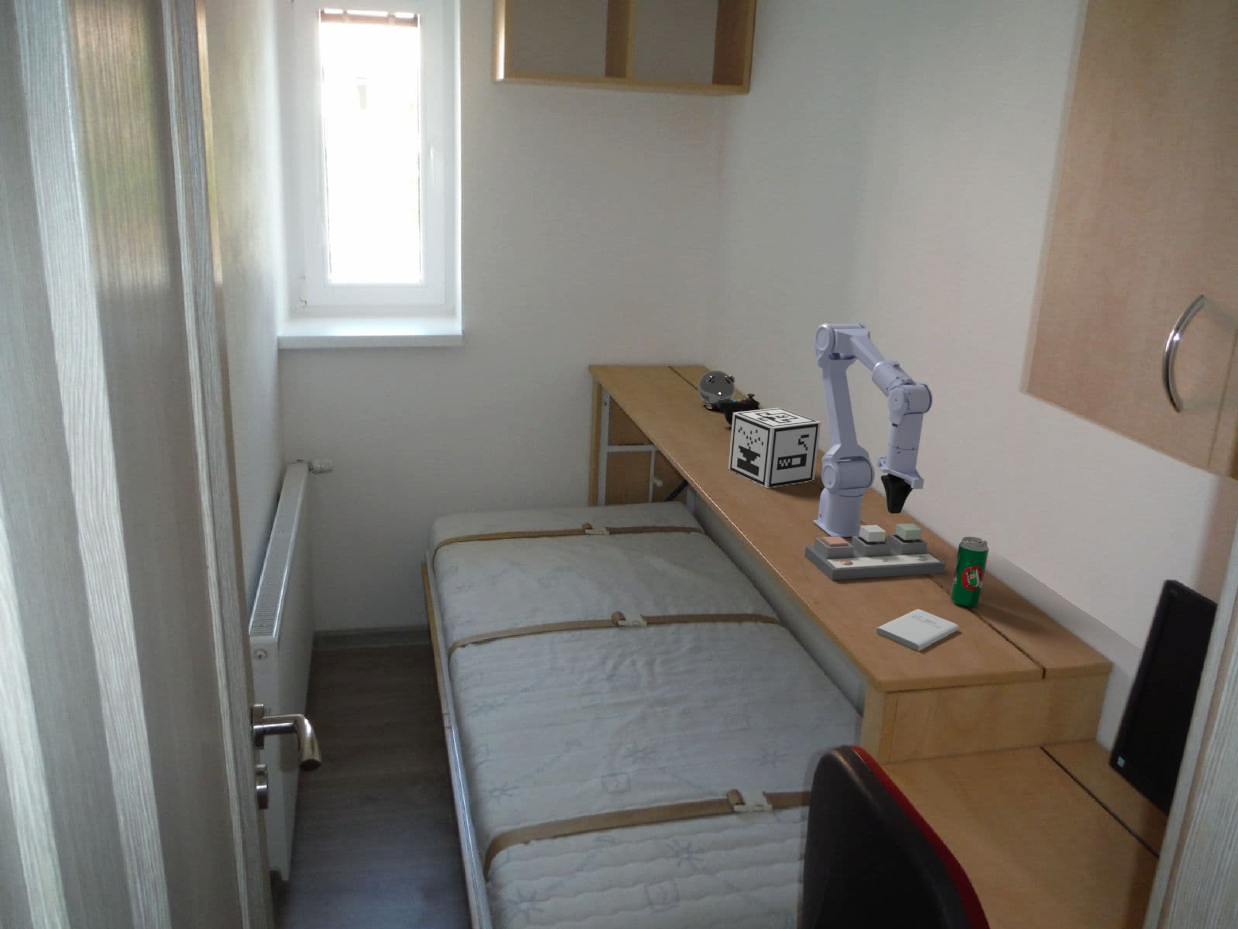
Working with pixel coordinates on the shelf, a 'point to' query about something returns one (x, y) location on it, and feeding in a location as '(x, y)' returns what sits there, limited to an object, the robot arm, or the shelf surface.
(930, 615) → the external hard drive
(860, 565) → the pattern card
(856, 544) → the button board
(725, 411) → the controller
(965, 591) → the soda can
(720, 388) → the piggy bank
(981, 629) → the shelf surface
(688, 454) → the shelf surface
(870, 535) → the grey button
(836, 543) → the terracotta button
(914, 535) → the sage button
